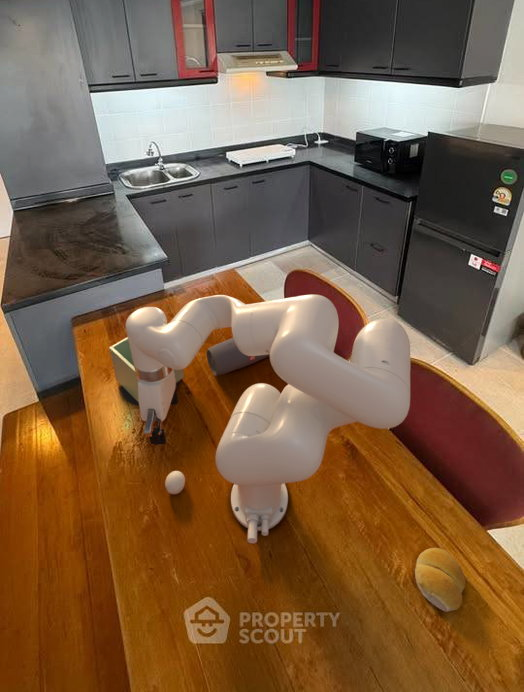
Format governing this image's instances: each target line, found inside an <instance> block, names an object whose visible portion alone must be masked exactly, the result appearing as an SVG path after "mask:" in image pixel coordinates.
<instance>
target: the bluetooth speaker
mask: <svg viewBox="0 0 524 692" xmlns="http://www.w3.org/2000/svg"><path fill="white" fill-rule="evenodd" d="M268 357H270V354H268V355H259V356H247V355H244V354H243V353H242V352H241V351H240V350H239V349H238V348H237V346H236V344H235V341H234V338H233V337H231V338H229V339H227V340H224V341H222V342H219V343H217V344H213V346H210V347H209V348H207V350H206V359H207V363H208V367H209V369H210V370H211V372H212V374H213V376H214V377H218V376H221V375H222V376H223V375H225V374H227V373H230V372H233V371H236V370H240V369H243V368H245V367H247V366H250V365H252V364H255V363H257V362H259V361H262V360H264V359H266V358H268Z"/></svg>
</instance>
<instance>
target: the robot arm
mask: <svg viewBox="0 0 524 692" xmlns="http://www.w3.org/2000/svg"><path fill="white" fill-rule="evenodd" d="M339 323H340V322H339V315H338V311H337V308H336V307H335V305H334V302H332V301H331V299H329V298H327V297H325V296H323V295H322V294H321V295H320V294H313V293H311V294H304V295H297V296H290V297H285V298H278V299H272V300H266V301H261V302H253V303H247V304H246V303H244V302H243V301H241V300H240V299H239V298H236V297H234V296H229V295H227V294H214V295H208V296H204V297H199V298H196V299H194V300H190V301H189V302H187V303H186V304H184V306H183V307H181V309H180V310H179V311H178V312H177V313H176V314H175V316H174V317H173V318H172V319H171V320H170V321H169V322H168V319H167V315H166V313H165V312H164V310H162V309H160V308H158V307H156V306H144V307H140V308H137V309H136V310H135V311H134V310H133V312H132V313H130V314H129V316H128V317H127V319H126V320H125V332H126V335H127V336H126V337H128V340H129V345H130V349H131V354H132V359H133V363H134V368H135V372H136V377H137V379H138V380H139V381H138V399H139V406H138V407H139V413H140V417H141V420H142V421H143V422H145V423H144V424H145V425H144V429H143V435H144V436H146V437H148V438H149V442H150V444H151V445H154V446H160V445H163V446H165V445H166V444H167V438H166V433H165V429H164V428H163V424H164V423H163V422H164V421H165V419H166V418H167V416H168V413H169V409H170V407H171V406H176V405H178V404H179V398H178V392H177V388H176V380H175V373H174V369H175V370H181V369H183V370H184V369H186V368H187V367H188V366H189V365H190V364H191V363H192V361H193V360H194V359H195V357H196V356H197V354H198V352H199V351H200V350H201V348H202V347H203V345H204V344H205V342H206V341H207V339H208V338H209V336H210V335H211V333H213V331H215V330H219V329H226V328H231V334H232V338H234V341H235V344H236V346H237V348H238V349H239V350H240V351H241V352H242V353H243V354H244V355H247V356H259V355H268V354H270V356H269V361H270V365H271V367H272V369H273V371H274V372H275V373H276V375H277V376H278V377H279V378H280V380H282V381H284V382H285V383H286V384H287V385H285V387H283V390H282V391H281V392H280V391H279V390H278V389H277V388H276V387H275V386H273V385H271V384H268V383H265V382H258V383H255V384H252V385H250V386H249V387H247V389H245V390H244V391H243V393H242V394H241V395H240V397H239V399H238V401H237V403H236V404H235V407H234V409H233V411H232V413H231V415H230V417H229V420H228V423H227V425H226V427H225V429H224V431H223V433H222V435H221V438H220V440H219V442H218V444H217V447H216V451H215V457H214V458H215V459H214V460H215V466H216V469H217V471H218V473H219V474H220V475H221V477H222V478H223V479H225V481H227V482H229V483H231V484H233V486H232V488H231V493H230V505H231V510H232V511H233V512H232V513H233V516H234V517H235V518H236V520H237V522H239V523H240V524H241V525H242V526H243V527H245V528H246V529H247V543H249V544H257V542H258V532H261V536H264V537H266V536H267V537H268V536H269V530H270V529H272V528H274V527H275V526H276V525H278V524H279V523H280V522H281V521H282V519H284V516H285V514H286V512H287V509H288V503H289V493H288V489H287V488H288V487H287V486H286V484H289V483H296V482H297V483H298V482H302V481H305V480H308V479H309V478H311V477H312V476H313V475H314V474H316V472H318V470H319V469H320V466H321V465H322V462H323V459H324V455H325V451H326V446H327V442H328V441H327V440H328V437H329V434H330V432H331V431H332V430H334V429H336V428H340V427H343V426H347V425H350V424H354V423H360V424H361V425H365V426H366V427H369V428H374V429H379V430H380V429H381V430H386V429H393V428H395V427H398V426H400V424H402V423H403V422H404V421H405V419H406V418H407V416H408V414H409V411H410V407H411V342H410V338H409V335H408V333H407V331H406V329H405V328H404V327H403V326H402V324H400V323H399V322H398V321H397V320H395V319H391V318H378V319H375V320H372V321H369V322H368V323H367V324H366V325H364V326H363V327H362V328H361V329H360V330H359V331H358V333H357V335H356V337H355V339H354V342H353V345H352V350H351V355H350V359H349V360H347V359H346V358H344V357H342V356H340V355H338V354H337V353H336V352H335V347H336V343H337V339H338V333H339V325H340V324H339ZM155 422H157V423H158V424H157V427H154V424H155Z"/></svg>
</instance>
